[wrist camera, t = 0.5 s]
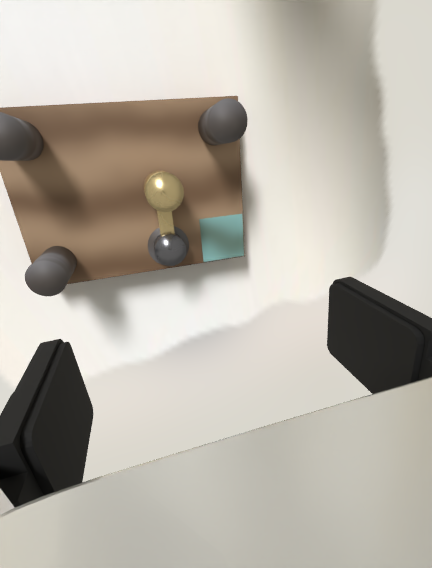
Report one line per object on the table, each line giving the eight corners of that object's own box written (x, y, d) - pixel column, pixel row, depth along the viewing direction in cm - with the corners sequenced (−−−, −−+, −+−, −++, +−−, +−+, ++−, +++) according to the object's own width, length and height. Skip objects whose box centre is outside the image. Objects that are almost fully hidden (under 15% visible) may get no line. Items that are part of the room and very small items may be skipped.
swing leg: (185, 258, 33) (193, 273, 29) (156, 262, 32) (159, 279, 28) (174, 169, 29) (181, 170, 25) (140, 172, 29) (142, 174, 24)
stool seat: (-6, 114, 27) (-57, 97, 20) (228, 101, 31) (256, 83, 24) (47, 278, 33) (24, 310, 26) (236, 249, 38) (260, 270, 30)
